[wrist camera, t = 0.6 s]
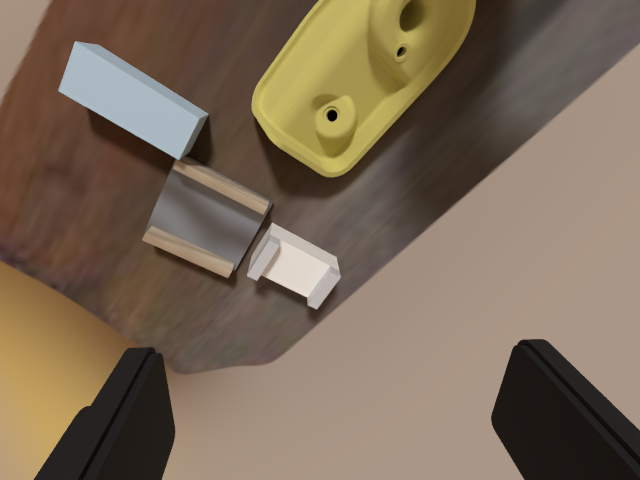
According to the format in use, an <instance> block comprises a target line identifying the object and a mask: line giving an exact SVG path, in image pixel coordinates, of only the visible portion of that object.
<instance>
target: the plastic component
mask: <svg viewBox="0 0 640 480" xmlns="http://www.w3.org/2000/svg"><path fill="white" fill-rule="evenodd" d="M475 7H476V0H319V1H318V2H317V3H316V4H315V6H314V7H313V8H312V9H311V10H310V12H309V13H308V14H307V15H306V17H305V18H304V19H303V21H302V22H301V24H300V25H299V26H298V28H297V29H296V31H295V32H294V33H293V35H292V36H291V38H290V39H289V40H288V42H287V43H286V45H285V46H284V47H283V49H282V50H281V52H280V53H279V54H278V56H277V57H276V59H275V60H274V61H273V63H272V64H271V66H270V67H269V68H268V70H267V71H266V73H265V74H264V75H263V77H262V78H261V80H260V81H259V82H258V84H257V86H256V88H255V91H254V94H253V97H252V111H253V114H254V116H255V117H256V119H257V120H258V122H259V123H260V125H261V127H262V128H263V130H264V131H265V133H266V134H267V136H268V137H269V139H270V140H271V141H272V142H273V143H274V144H275V145H276V146H278V147H279V148H280V149H282V150H283V151H285V152H286V153H288V154H290V155H291V156H293V157H294V158H296V159H297V160H299V161H301V162H302V163H304V164H305V165H307V166H308V167H310V168H312V169H313V170H315V171H316V172H318V173H319V174H321V175H323V176H326V177H337V176H340V175H343V174H345V173H346V172H348V171H349V170H350V169H351V168H352V167H353V166H354V165H355V164H356V163H357V162H358V161H359V160H360V159H361V158H362V157H363V156H364V154H365V153H366V152H367V151H368V150H369V149H370V148H371V147H372V146H373V145H374V144H375V143H376V142H377V140H378V139H379V138H380V137H381V136H382V135H383V134H384V133H385V132H386V131H387V130H388V129H389V128H390V126H391V125H392V124H393V123H394V122H395V121H396V120H397V119H398V118H399V117H400V116H401V115H402V114H403V112H404V111H405V110H406V109H407V108H408V107H409V106H410V105H411V104H412V103H413V102H414V101H415V100H416V98H417V97H418V96H419V95H420V94H421V93H422V92H423V91H424V90H425V89H426V88H427V87H428V86H429V84H430V83H431V82H432V81H433V80H434V79H435V78H436V77H437V76H438V74H439V73H440V72H441V71H442V70H443V69H444V67H445V66H446V65H447V64H448V63H449V61H450V60H451V59H452V58H453V56H454V55H455V54H456V52H457V51H458V49H459V48H460V46H461V45H462V43H463V41H464V39H465V37H466V36H467V33H468V31H469V29H470V26H471V23H472V20H473V17H474V12H475ZM403 9H404V10H403ZM402 10H403V12H402ZM401 13H402V14H401ZM400 15H401V16H400ZM400 47H403V51H402V53H401V54H400V55H398V56H397V51H398V49H399V48H400ZM331 110H335V111H336V112H337V115H338V116H337V119H336V120H335V121H334V122H331V121H329V120H328V117H327V115H328V112H329V111H331Z"/></svg>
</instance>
